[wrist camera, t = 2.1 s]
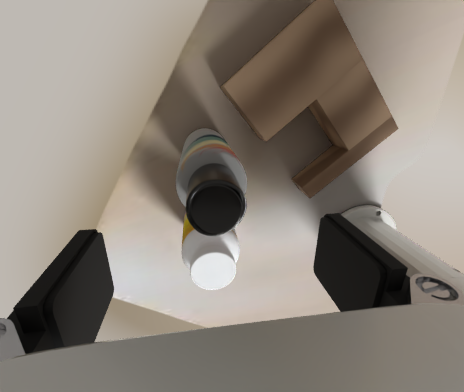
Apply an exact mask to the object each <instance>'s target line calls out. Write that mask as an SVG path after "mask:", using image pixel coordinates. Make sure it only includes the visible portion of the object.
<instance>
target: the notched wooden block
mask: <svg viewBox="0 0 464 392" xmlns="http://www.w3.org/2000/svg"><path fill="white" fill-rule="evenodd" d="M220 88H221V89H222V91H223V92H224V93H225V95H226V96H227V97H228V98H229V100H230V101H231V102H232V104H233V105H234V106H235V107H236V109H237V110H238V111H239V113H240V114H241V115H242V116H243V118H244V119H245V120H246V122H247V123H248V124H249V125H250V127H251V128H252V129H253V131H254V132H255V133H256V134H257V136H258V137H259V138H261V139H262V140H264V141H266V142H267V141H268V140H269V139H270V138H272V137H273V136H274V135H275V134H276V133H277V132H279V131H280V130H281V129H282V128H283V127H284V126H286V125H287V124H288V123H289V122H290V121H291V120H293V119H294V118H295V117H296V116H297V115H298V114H300V113H301V112H302V111H303V110H304V109H305V108H307V107H309V109H310V110H311V112H312V114H313V115H314V117H315V118H316V120H317V121H318V123H319V124H320V126H321V127H322V129H323V131H324V132H325V134H326V135H327V137H328V138H329V140H330V141H331V143H332V144H333V146H331V147H330V148H329V149H328V150H326V151H325V152H324V153H323V154H322V155H320V156H319V157H318V158H317V159H315V160H314V161H313V162H312V163H311V164H309V165H308V166H307V167H306V168H304V169H303V170H302V171H301V172H299V173H298V174H297V175H296V176H295V177H293V178H292V181H293V182H294V183H295V185H296V186H297V187H298V188H299V189H300V190H301V191H302V192H303V193H304V194H305V195H307V196H308V197H309V198H311V197H312V196H314V195H315V194H316V193H318V192H319V191H320V190H321V189H323V188H324V187H325V186H326V185H328V184H329V183H330V182H331V181H333V180H334V179H335V178H337V177H338V176H339V175H340V174H342V173H343V172H344V171H345V170H347V169H348V168H349V167H350V166H352V165H353V164H354V163H356V162H357V161H358V160H359V159H361V158H362V157H363V156H364V155H366V154H367V153H368V152H369V151H371V150H372V149H373V148H375V147H376V146H377V145H378V144H380V143H381V142H382V141H383V140H385V139H386V138H387V137H388V136H390V135H391V134H392V133H393V132H395V131H396V130H397V129H398V127H397V125H396V123H395V121H394V119H393V117H392V115H391V113H390V111H389V109H388V107H387V105H386V103H385V101H384V99H383V97H382V95H381V93H380V91H379V89H378V87H377V85H376V83H375V81H374V80H373V78H372V76H371V74H370V72H369V70H368V68H367V66H366V64H365V62H364V60H363V58H362V56H361V54H360V52H359V50H358V48H357V46H356V44H355V42H354V40H353V38H352V36H351V34H350V32H349V30H348V28H347V26H346V25H345V23H344V21H343V19H342V17H341V15H340V13H339V11H338V9H337V7H336V5H335V3H334V1H333V0H315V1H313V2H312V3H311V4H310V5H309V6H308V7H307V8H306V9H305V10H303V11H302V12H301V13H300V14H299V15H298V16H297V17H296V18H295V19H294V20H293V21H291V22H290V23H289V24H288V25H287V26H286V27H285V28H284V29H283V30H282V31H281V32H280V33H278V34H277V35H276V36H275V37H274V38H273V39H272V40H271V41H270V42H269V43H268V44H267V45H265V46H264V47H263V48H262V49H261V50H260V51H259V52H258V53H257V54H256V55H255V56H253V57H252V58H251V59H250V60H249V61H248V62H247V63H246V64H245V65H244V66H243V67H242V68H240V69H239V70H238V71H237V72H236V73H235V74H234V75H233V76H232V77H231V78H230V79H229V80H227V81H226V82H225V83H224V84H223V85H222V86H221V87H220Z"/></svg>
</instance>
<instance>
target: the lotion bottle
mask: <svg viewBox="0 0 464 392" xmlns="http://www.w3.org/2000/svg"><path fill="white" fill-rule="evenodd" d="M246 189H247V176H246V172H245V170H244V168H243V166H242V164H241V162H240V161H239V159H238V158H237V156H236V155H235V154H234V152H233V151H232V149H231V148H230V147H229V145H228V144H227V142H226V141H225V140H224V138H223V137H222V136H221V135H220V134H219V133H218V132H216V131H214V130H212V129H208V128H202V129H198V130H195V131H194V132H192V133H191V134H190V135H189V136H188V137H187V139H186V141H185V143H184V146H183V150H182V154H181V158H180V162H179V166H178V170H177V175H176V191H177V194H178V197H179V199H180V201H181V202H182V204H183V205H184V206H185V207H186V215H187V218H188V221H189V223H190V224H191V226H192V227H193V228H194V229H195V230H196V231H198V232H199V233H201V234H203V235H207V236H219V235H223V234H225V233H228V232H229V231H231V230H232V229H234V228H235V227H236V226H237V225H238V224H239V223H240V222H241V220H242V219H243V217H244V215H245V212H246V207H247V203H246V198H245V193H246Z"/></svg>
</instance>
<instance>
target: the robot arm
mask: <svg viewBox="0 0 464 392" xmlns="http://www.w3.org/2000/svg"><path fill="white" fill-rule="evenodd" d="M314 273H315V275H316V277H317V278H318V280H319V281H320V282H321V284H322V285H323V287H324V288H325V290H326V291H327V293H328V294H329V295H330V297H331V298H332V300H333V301H334V303H335V304H336V306H337V307H338V308H339V310H340V311H341V312H334V313H326V314H317V315H309V316H301V317H293V318H285V319H277V320H269V321H261V322H253V323H245V324H237V325H229V326H221V327H212V328H204V329H196V330H188V331H180V332H172V333H164V334H157V335H149V336H141V337H134V338H126V339H118V340H111V341H103V342H94V341H95V339H96V336H97V333H98V331H99V329H100V326H101V324H102V321H103V319H104V316H105V314H106V311H107V309H108V306H109V304H110V301H111V298H112V296H113V292H114V286H113V281H112V276H111V271H110V267H109V262H108V258H107V253H106V248H105V244H104V239H103V235H102V233H101V232H100V233H98V232H97V230H96V229H93V230H79V231H78V232H77V233H76V234H75V236H74V237H73V238H72V239H71V240H70V242H69V243H68V244H67V245H66V246H65V248H64V249H63V250H62V251H61V252H60V253H59V255H58V256H57V257H56V258H55V259H54V261H53V262H52V263H51V264H50V265H49V266H48V268H47V269H46V270H45V271H44V272H43V274H42V275H41V276H40V277H39V279H38V280H37V281H36V282H35V283H34V284H33V286H32V287H31V288H30V289H29V290H28V291H27V293H26V294H25V295H24V296H23V297H22V298H21V300H20V301H19V302H18V303H17V304H16V306H15V307H14V308H13V309H14V311H13V312H12V313H11V314H10V315H9V317H8V318H7V319H5V318H0V392H464V274H463V273H461V272H460V271H458V270H456V269H455V268H453V267H452V266H450V265H449V264H447V263H446V262H444V261H443V260H441V259H440V258H438V257H437V256H435V255H433V254H432V253H430V252H429V251H427V250H426V249H424V248H423V247H421V246H420V245H418V244H417V243H415V242H414V241H412V240H411V239H409V238H408V237H406V236H405V235H403V234H402V233H400V232H398V231H397V229H396V223H395V221H394V219H393V217H392V216H391V215H390V214H389V213H388V212H386V211H385V210H383V209H381V208H379V207H376V206H371V205H364V206H358V207H354V208H351V209H349V210H347V211H345V212H344V213H342V214H339V213H336V214H326V215H325V216H324V217H323V218H321V220H320V227H319V233H318V240H317V247H316V253H315V260H314Z"/></svg>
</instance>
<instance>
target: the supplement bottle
mask: <svg viewBox="0 0 464 392" xmlns="http://www.w3.org/2000/svg"><path fill="white" fill-rule="evenodd" d="M239 253H240V246H239V242H238V239H237V235H236V232H235V229H232V230H231V231H229V232H228V233H225V234H223V235H219V236H207V235H203V234H201V233H199V232H198V231H196V230H195V229H194V228H193V227H192V226H191V224H190V223H189V221H188V218H187V215H186V212H185V215H184V225H183V239H182V258H183V261H184V263H185V265H186V266H187V268H188V269H189V270H190V275H191V278H192V280H193V282H194V283H195V284H196V285H197V286H199V287H200V288H203V289H207V290H216V289H220V288H223V287H225V286H226V285H228V284H229V283H230V282H231V281H232V280H233V278H234V276H235V274H236V262H237V260H238V258H239Z"/></svg>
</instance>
